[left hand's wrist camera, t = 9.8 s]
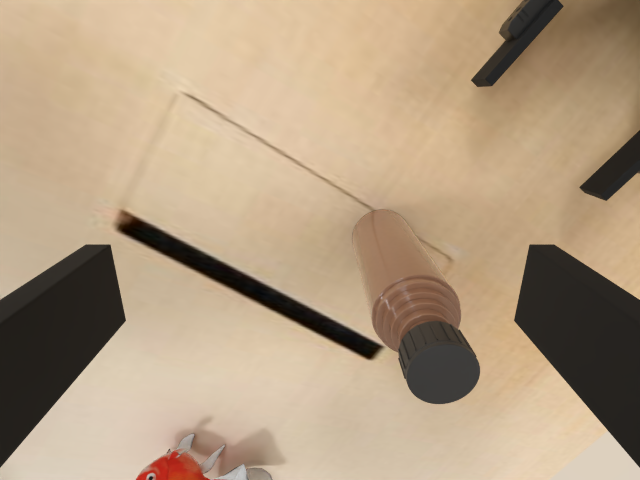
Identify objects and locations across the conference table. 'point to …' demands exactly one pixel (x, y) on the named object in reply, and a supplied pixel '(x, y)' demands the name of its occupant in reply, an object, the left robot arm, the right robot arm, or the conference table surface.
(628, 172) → the right robot arm
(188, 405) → the conference table surface
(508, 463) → the conference table surface
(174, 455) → the fish
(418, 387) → the cap
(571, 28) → the conference table surface
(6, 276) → the conference table surface
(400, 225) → the bottle
